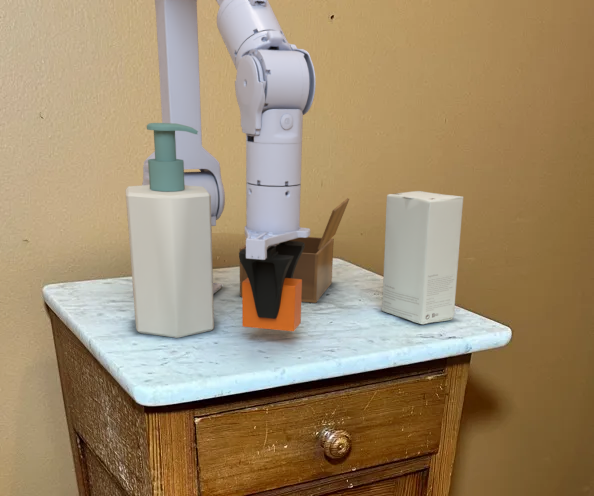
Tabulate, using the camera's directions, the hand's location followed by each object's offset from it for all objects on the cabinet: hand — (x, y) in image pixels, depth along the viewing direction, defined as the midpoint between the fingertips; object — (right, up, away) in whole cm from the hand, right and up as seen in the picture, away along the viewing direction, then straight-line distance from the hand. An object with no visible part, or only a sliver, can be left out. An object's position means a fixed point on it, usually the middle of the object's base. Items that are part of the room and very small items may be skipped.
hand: (271, 312), depth 87 cm
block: (0, -1, +1) cm, 1 cm away
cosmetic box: (+18, +3, +14) cm, 23 cm away
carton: (+1, +9, +24) cm, 25 cm away
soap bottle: (-12, 0, +7) cm, 14 cm away
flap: (+8, +17, +18) cm, 26 cm away
